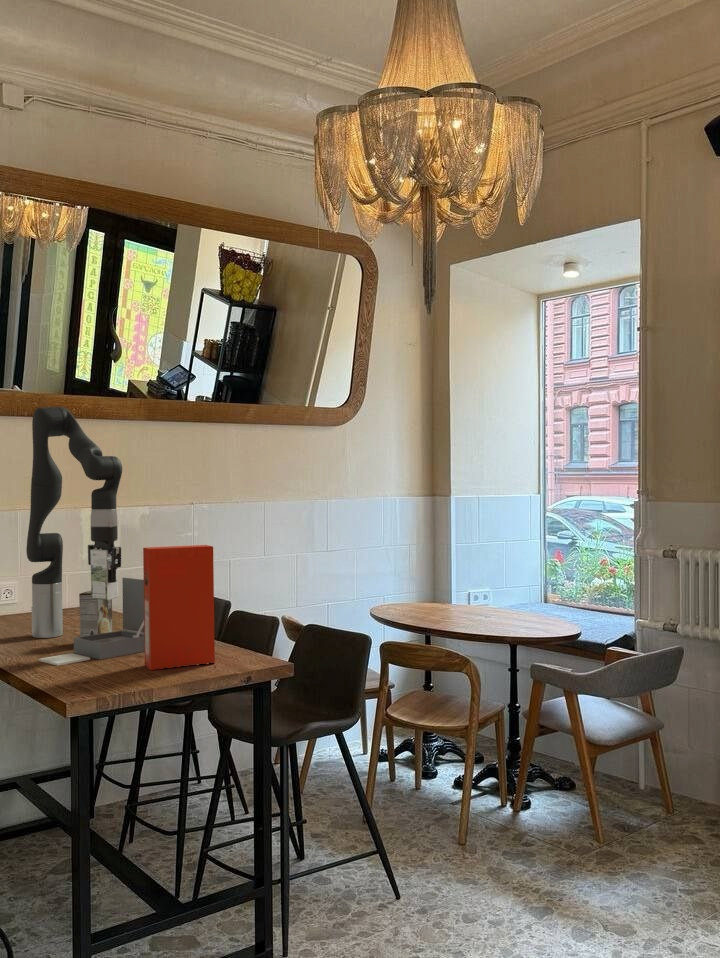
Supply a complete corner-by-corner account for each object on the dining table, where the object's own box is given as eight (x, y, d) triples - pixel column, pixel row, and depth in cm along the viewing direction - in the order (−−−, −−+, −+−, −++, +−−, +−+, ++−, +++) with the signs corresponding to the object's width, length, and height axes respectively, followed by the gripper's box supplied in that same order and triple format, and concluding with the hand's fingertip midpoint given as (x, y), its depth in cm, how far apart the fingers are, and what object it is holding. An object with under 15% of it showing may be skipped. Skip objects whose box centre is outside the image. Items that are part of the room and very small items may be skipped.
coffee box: (94, 640, 279) (93, 589, 279) (113, 640, 278) (112, 589, 278) (79, 645, 270) (78, 593, 270) (98, 646, 269) (98, 593, 269)
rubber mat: (38, 660, 248) (38, 658, 248) (71, 655, 255) (71, 653, 255) (57, 665, 241) (57, 663, 241) (90, 659, 249) (90, 657, 249)
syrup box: (119, 597, 260) (118, 547, 260) (107, 600, 254) (106, 549, 254) (102, 596, 262) (102, 547, 262) (90, 599, 256) (89, 549, 256)
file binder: (144, 665, 241) (143, 547, 241) (206, 658, 248) (205, 544, 248) (151, 670, 233) (149, 549, 233) (214, 664, 241) (213, 546, 241)
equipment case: (73, 653, 258) (73, 582, 258) (125, 644, 271) (124, 577, 271) (100, 659, 249) (99, 586, 249) (152, 650, 262) (152, 580, 262)
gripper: (79, 524, 260) (79, 580, 260) (106, 526, 250) (107, 584, 250) (101, 523, 265) (102, 578, 265) (129, 525, 256) (129, 582, 256)
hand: (104, 581), depth 258 cm, fingers closed on syrup box, 7 cm apart
